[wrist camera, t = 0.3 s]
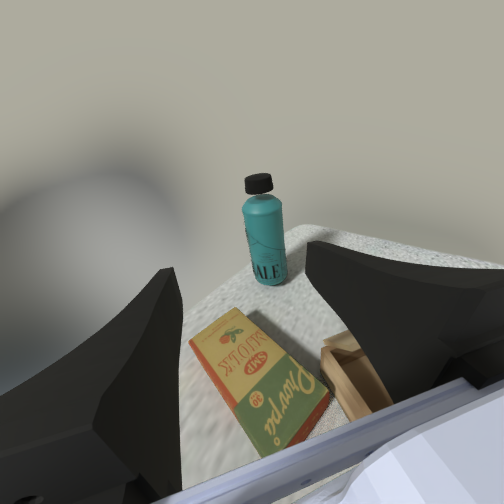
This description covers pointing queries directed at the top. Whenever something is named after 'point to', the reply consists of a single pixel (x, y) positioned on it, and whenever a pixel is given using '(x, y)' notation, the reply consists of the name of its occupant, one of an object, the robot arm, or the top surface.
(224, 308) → the top surface
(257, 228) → the beverage bottle
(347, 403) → the cardboard box
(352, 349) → the flap
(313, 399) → the carton
